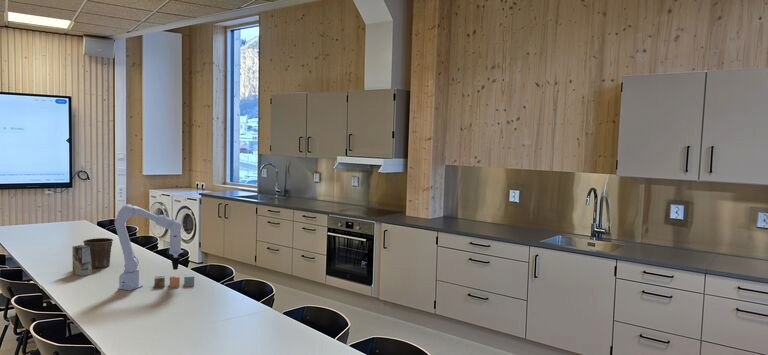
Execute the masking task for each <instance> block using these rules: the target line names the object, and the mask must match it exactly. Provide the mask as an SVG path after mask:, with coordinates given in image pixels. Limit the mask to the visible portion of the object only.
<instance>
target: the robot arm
mask: <svg viewBox="0 0 768 355" xmlns="http://www.w3.org/2000/svg"><path fill="white" fill-rule="evenodd" d="M131 217H142V218H145V219H148V220H151V221H153V222H155V225H157V226H159V227H162V228H163V229H167V230H169V231H170V232H169V251H168V253H169V254H168V255H169V259H170V262H171V264H172V270H174V271H177V270H178V268H179V264H180V261H181V259H182V256H181V253H184V250H182V235H181V234H182V231H181V230H182V223H181V222H180V221H178V220H176V219H174V218H170V217H168V216H167V215H166V214H159V215H156V214H155V213H153V212H150V211H148V210H147V209H144V208H142V207H139V206H137V205H133V204H130V203H125V204H124V205H123V206H122V207H121V208H120V210H118V212H117V215H116V217H115V220H114V227H115V229H116V230H115V231H116V233H117V237H118V239H119V240H118V241H119V243H120V247H121V250H122V253H123V258H124V260H123V261H124V269H123V272H122V273H121V274H119V277H118V278H119V279H118V287H117V289H118V290H125V291H132V290H135V289H138V288H143V284H140V269H139V268H138V266H139V259H138V257H136V255H135V252H134V249H133V246H132V243H131V239H130V236H129V233H128V230H127V227H126V223H127V221H128V219H130V218H131Z"/></svg>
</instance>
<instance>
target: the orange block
mask: <svg viewBox="0 0 768 355" xmlns="http://www.w3.org/2000/svg"><path fill="white" fill-rule="evenodd" d="M180 279H181V278H180V274H178V275H175V274H174V275H169V288H174V287H175V286H176V287H180V285H181V284H180V281H181V280H180ZM176 287H175V288H176Z"/></svg>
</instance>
